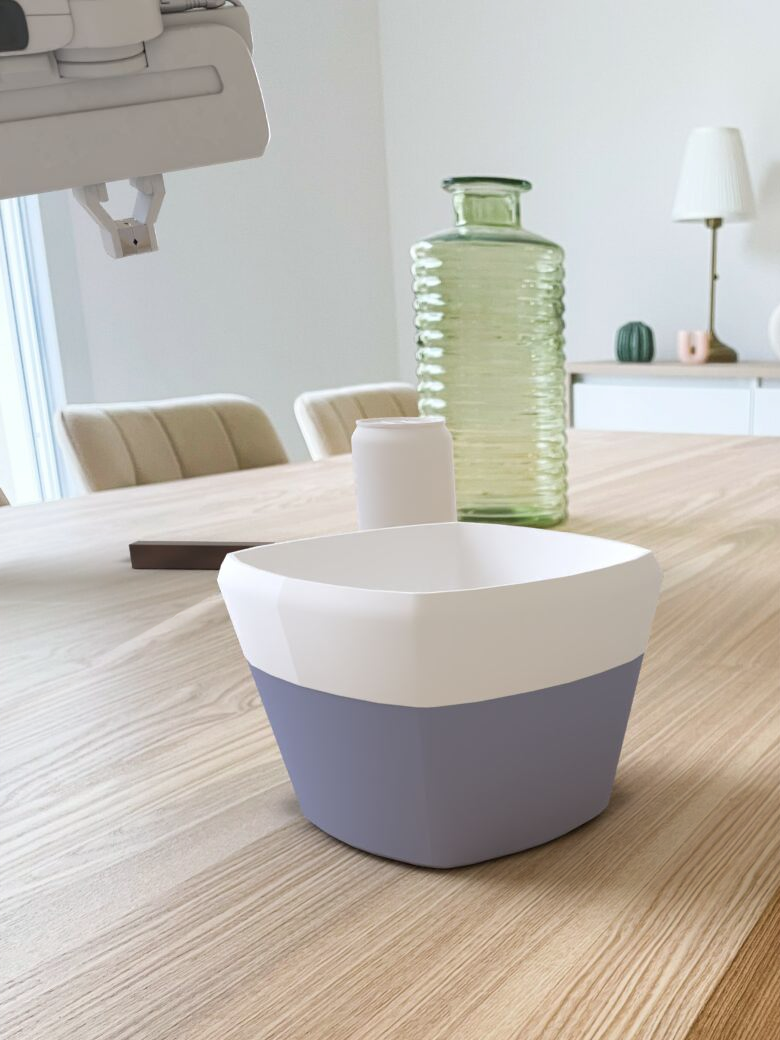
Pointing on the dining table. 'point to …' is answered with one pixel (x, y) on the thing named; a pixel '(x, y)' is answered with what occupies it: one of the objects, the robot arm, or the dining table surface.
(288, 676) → the bowl
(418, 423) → the beverage can
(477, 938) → the dining table surface
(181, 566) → the walnut stick
